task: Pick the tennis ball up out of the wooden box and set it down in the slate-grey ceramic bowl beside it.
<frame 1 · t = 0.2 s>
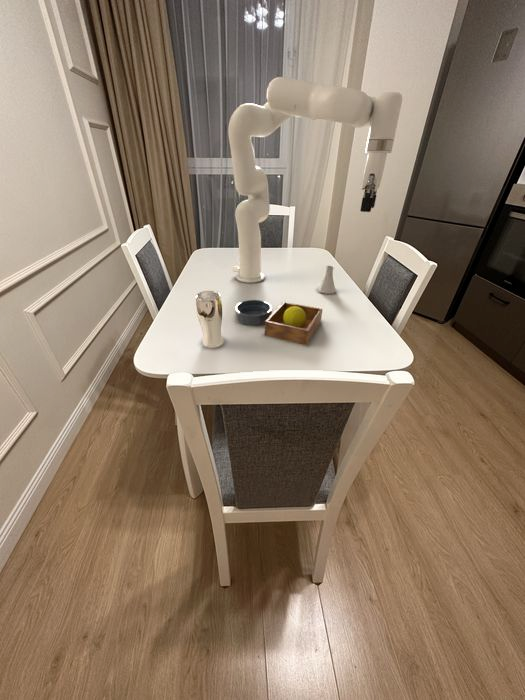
hand: (367, 209, 96), 31 cm above the table, tool pointing down, fingers open, 9 cm apart
beer glass: (213, 343, 85), on the table
flask: (326, 291, 117), on the table
bowl: (253, 318, 97), on the table
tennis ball: (293, 327, 92), resting on wooden box
wooden box: (293, 328, 92), on the table
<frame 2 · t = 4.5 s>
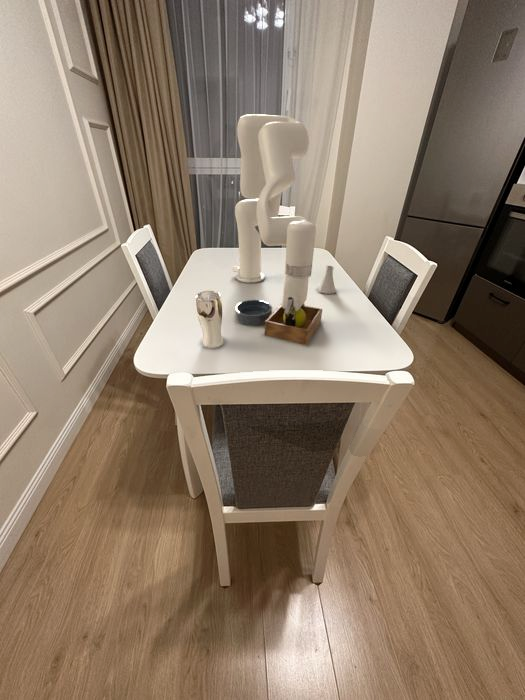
hand: (294, 323, 91), 2 cm above the table, tool pointing down, fingers closed on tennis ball, 7 cm apart
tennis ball: (293, 327, 92), resting on wooden box, touching gripper
everything else where it was.
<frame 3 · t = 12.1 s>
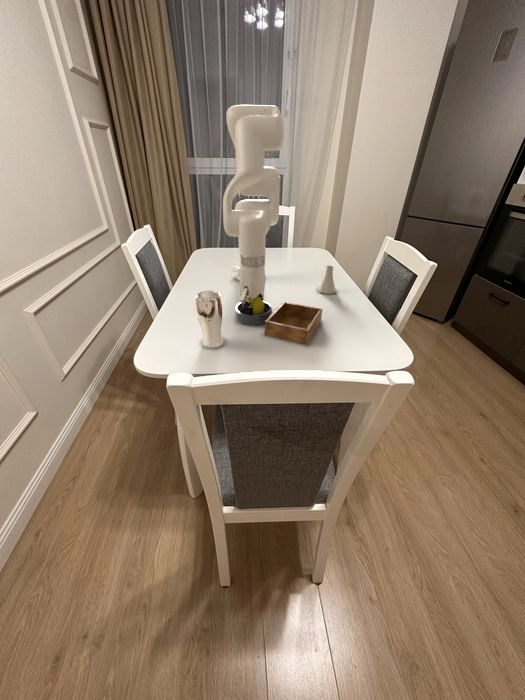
hand: (253, 312, 96), 2 cm above the table, tool pointing down, fingers closed on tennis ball, 7 cm apart
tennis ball: (253, 316, 97), point 1 cm above the table, touching gripper
everything else where it was.
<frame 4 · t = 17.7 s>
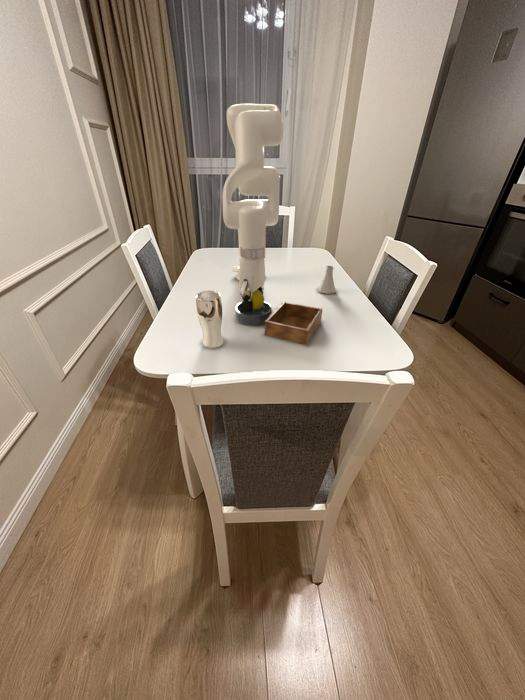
hand: (253, 305, 95), 4 cm above the table, tool pointing down, fingers closed on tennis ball, 7 cm apart
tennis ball: (253, 309, 96), point 3 cm above the table, touching gripper
everything else where it was.
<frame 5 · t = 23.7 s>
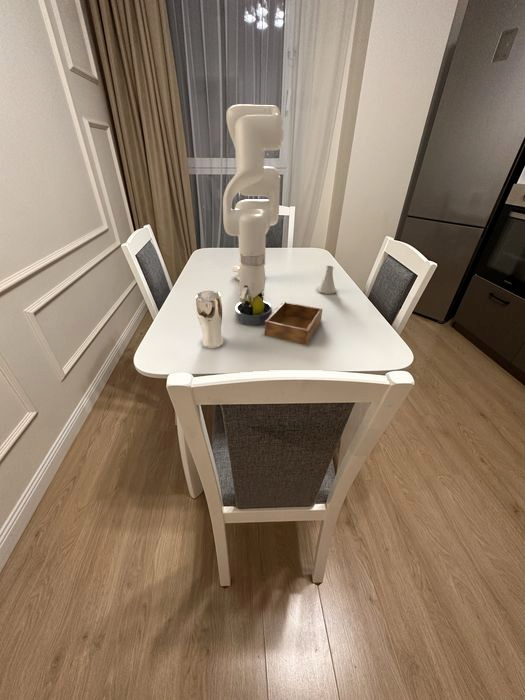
hand: (253, 311, 96), 2 cm above the table, tool pointing down, fingers closed on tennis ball, 7 cm apart
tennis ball: (253, 315, 97), point 1 cm above the table, touching gripper
everything else where it was.
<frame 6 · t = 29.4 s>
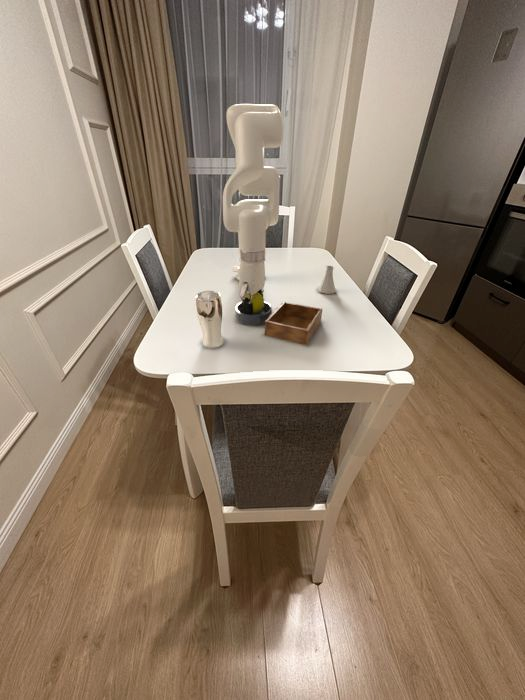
hand: (253, 308, 96), 4 cm above the table, tool pointing down, fingers closed on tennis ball, 7 cm apart
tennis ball: (253, 312, 97), point 2 cm above the table, touching gripper
everything else where it was.
when the fingers open (5 cm above the table, at t = 34.6 s): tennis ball drops 3 cm, resting on bowl.
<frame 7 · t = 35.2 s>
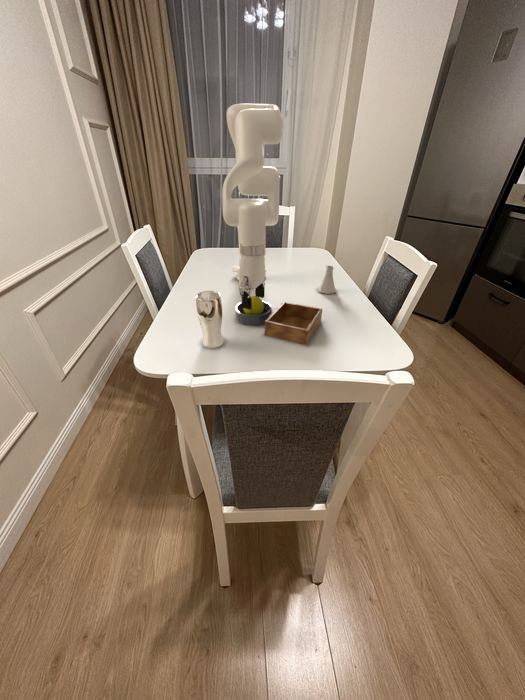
hand: (253, 302, 94), 6 cm above the table, tool pointing down, fingers open, 9 cm apart
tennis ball: (253, 316, 98), resting on bowl
everything else where it was.
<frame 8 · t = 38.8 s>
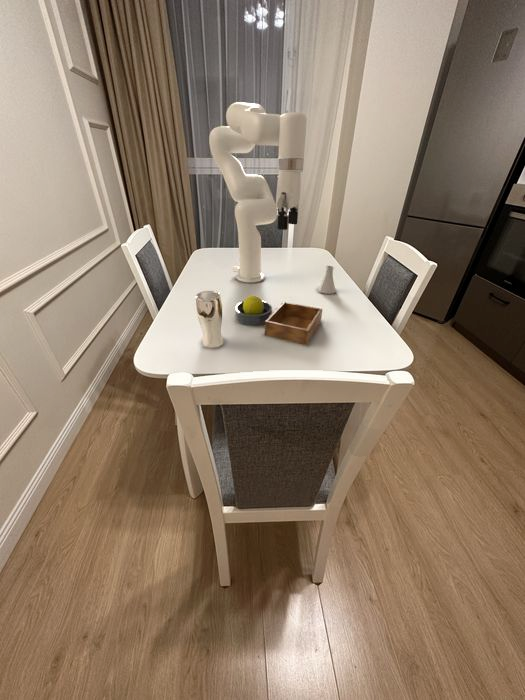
hand: (287, 226, 96), 26 cm above the table, tool pointing down, fingers open, 9 cm apart
nothing on the table moved.
at the end: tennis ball 0.6 cm off-centre in the bowl, point 0.3 cm above the bowl's base; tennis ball touching bowl; the gripper is holding nothing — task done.
